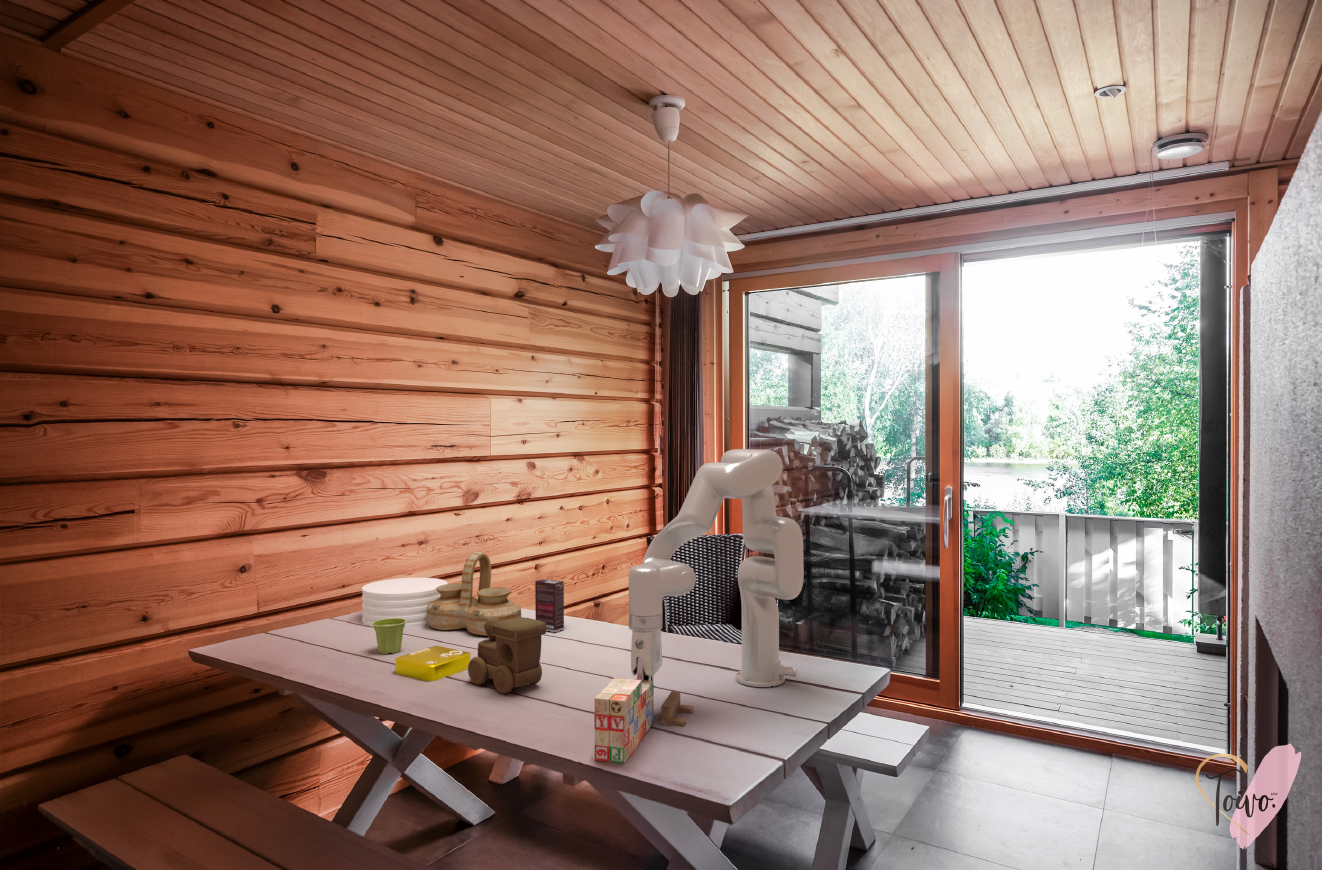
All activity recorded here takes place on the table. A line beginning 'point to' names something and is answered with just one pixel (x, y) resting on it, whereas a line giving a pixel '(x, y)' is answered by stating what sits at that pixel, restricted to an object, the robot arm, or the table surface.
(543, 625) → the wooden toy train
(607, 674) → the table surface
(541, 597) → the supplement box
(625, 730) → the stack of blocks
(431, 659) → the element tile
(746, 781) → the table surface
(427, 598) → the plate stack
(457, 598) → the ceramic vessel
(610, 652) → the table surface
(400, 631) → the plant pot
